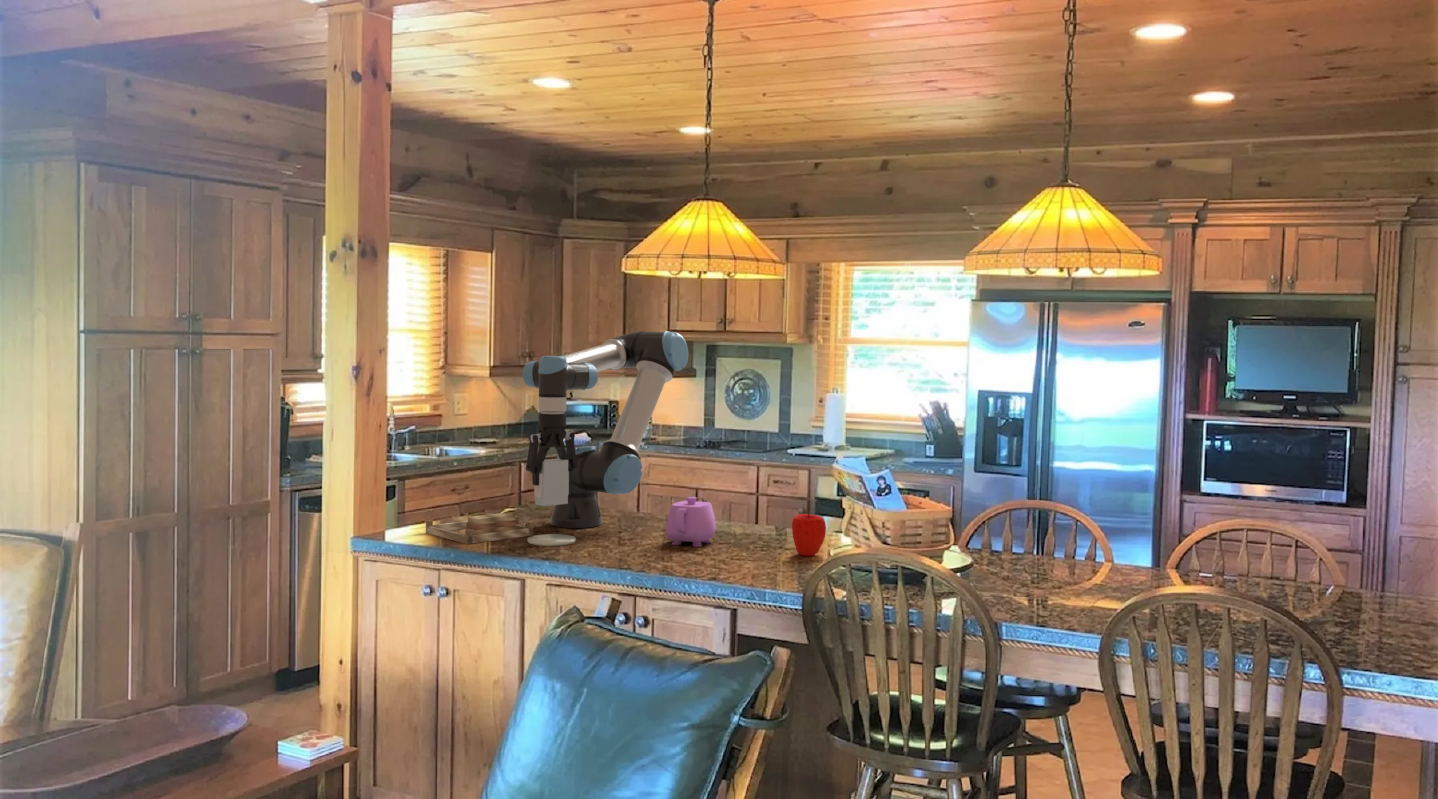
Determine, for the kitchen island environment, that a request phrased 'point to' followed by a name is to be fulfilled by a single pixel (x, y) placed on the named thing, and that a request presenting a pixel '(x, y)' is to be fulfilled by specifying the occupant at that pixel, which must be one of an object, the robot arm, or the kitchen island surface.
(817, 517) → the apple
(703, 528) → the teapot
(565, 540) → the plate
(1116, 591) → the kitchen island surface
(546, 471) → the gray rectangular block
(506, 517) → the offcut stack
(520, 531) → the rack
